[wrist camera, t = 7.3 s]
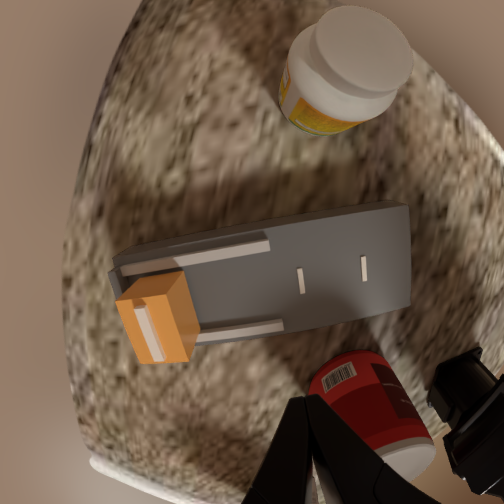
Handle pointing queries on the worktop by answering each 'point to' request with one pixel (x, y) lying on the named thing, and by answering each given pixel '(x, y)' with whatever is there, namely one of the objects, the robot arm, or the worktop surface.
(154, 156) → the worktop surface
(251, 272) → the switch base
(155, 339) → the switch slider
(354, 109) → the supplement bottle
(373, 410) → the canned food
